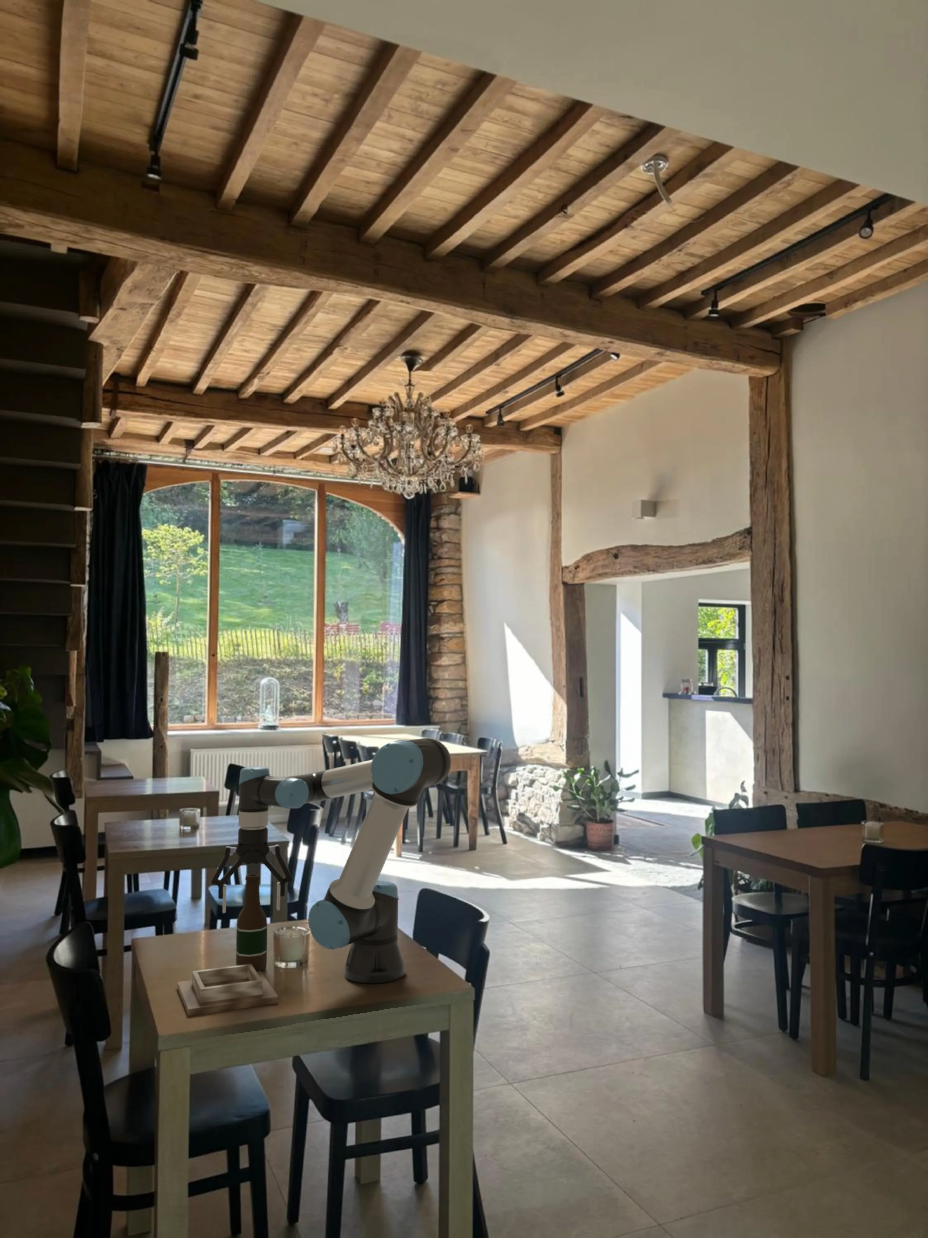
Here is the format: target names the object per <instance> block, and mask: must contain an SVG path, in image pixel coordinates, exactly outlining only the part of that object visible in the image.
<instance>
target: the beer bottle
mask: <svg viewBox="0 0 928 1238" xmlns="http://www.w3.org/2000/svg"><path fill="white" fill-rule="evenodd" d="M260 877H261V876H260V875H259V874H256V873H249V874H247V875H246V876H245V892H244V903H243V908H242V909H241V910H240V911H239V914H238V917H237V919H236V932H235V933H236V937H235V938H236V941H235V945H236V947H235V950H236V952H235V966H239V965H247V964H251V965H252V966H253V968H254V969H255V970H256V972H259V971H261V973H263V972H264V971H265V970H267V963H268V960H267V959H268V919H267V916H266V913H265V911H264V909H263V908H262V906H261V899H260V897H261V896H260V879H261V878H260Z"/></svg>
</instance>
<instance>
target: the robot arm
mask: <svg viewBox="0 0 928 1238" xmlns="http://www.w3.org/2000/svg"><path fill="white" fill-rule="evenodd" d="M451 758H452V757H451V753H450V752H449V750H448V748H447V747H446V745H444V744H443V743H442V742H441V741H439V740H438V739H436V738H430V737H424V738H422V737H421V738H416V739H415V738H414V739H397V740H393V741H391V742H388V743H386V744H384V745H383V746H381V747H380V748H379V749H378V750H377V751H376V752H375V754H374V756H373V758H372V759H370V760H366V761H361V762H360V761H359V762H358V763H357V762H356V763H353V764H349V765H347V764H346V765H344V766H341V767H340V766H339V767H334V768H331V769H326V770H321V771H318V772H311V773H307V774H299V775H298V774H297V775H290V776H273V775H271V774H270V769H269V768H268V767H267V766H246V767H243V768H241V769H240V772H239V780H238V782H239V783H238V790H239V791H238V793H239V794H238V797H239V798H238V824H237V825H238V827H239V829H238V830H237V831H238V833H237V834H238V835H237V847H234V846H233V847H232V846H230V845H227V846H226V847H225V849H224V850H225V851H224V855H223V857H222V859H221V861H220V863H219V865H218V867H217V869H216V871H215V873H214V874H213V877H212V879H211V884H212V885H215V886H217V887H218V888H217V889H218V892H217V893H218V894H217V896H218V899H219V900H222V914H225V913H227V884H226V882H227V881H228V880H230V878H231V877H232V876H233V874H234V873H235V872H236V871H237V870H238V869H239V868H240V867H241V866H242V864H246V865H252V864H253V865H259V864H260V863H262V864H263V865H264V866H265V867H266V868H267V869H268V871H269V872H270V873H271V874H272V875H273V876H274V877H275V878H276V880H277V882H276V883H277V884H276V911H281V897H284V896H285V893H286V892H285V890H286V889H285V888H286V883H288V882H291V881H292V880H293V877H292V874H291V872H290V870H289V868H288V865H287V864H286V862H285V860H284V858H283V856H282V853H281V849H280V844H278V843H277V844H275V845H272V846H271V845H270V846H269V828H268V827H267V826H268V825H269V807H274V808H275V807H277V808H285V809H288V810H290V809H300V808H302V807H303V805H305V804H310V803H316V802H324V801H328V800H331V799H335V798H338V797H339V798H340V797H344V796H349V795H354V794H358V793H364V792H368V791H369V792H370V791H372V792H373V793H374V795H373V798H372V799H371V802H370V805H369V806H368V809H367V812H366V815H365V817H364V818H363V821H362V824H361V827H360V828H359V831H358V833H357V836H356V838H355V841H354V843H353V845H352V848H351V851H350V853H349V855H348V857H347V859H346V862H345V865H344V867H343V869H342V871H341V874H340V876H339V878H337V879H335V880H333V881H331V882H330V884H329V886H328V889H327V891H326V893H325V895H324V898H323V899H321V900H318V901H316V902H315V903H314V904H313V905H312V906H311V907H310V909H309V912H308V919H307V921H308V923H307V924H308V927H309V930H310V934H311V936H312V938H313V939H314V941H315V942H316V943H317V944H318V945H320V946H321V947H323V948H324V949H327V950H337V949H342V948H345V947H346V946H349V945H350V949H349V952H348V954H347V957H346V959H345V960H346V961H345V964H344V977H345V978H346V979H347V980H349V981H352V982H356V983H362V984H382V983H383V984H384V983H389V982H393V981H396V980H398V979H401V978H402V977H404V975H405V971H406V970H405V969H406V968H405V965H406V964H405V962H404V960H403V957H402V952H401V949H400V946H399V941H398V939H399V938H398V935H399V934H398V933H399V931H398V930H399V900H400V898H399V894H398V893H399V892H398V891H399V890H398V886H397V885H396V884H395V883H393V882H391V881H385V880H378V879H379V878H380V876H381V873H382V871H383V868H384V866H385V864H386V861H387V859H388V857H389V854H390V852H391V849H392V847H393V844H394V843H395V840H396V838H397V835H398V833H399V831H400V829H401V826H402V824H403V821H404V819H405V818H406V817H405V816H406V815H407V812H408V811H409V810H408V809H410V808H413V807H416V806H417V805H418V804H419V803H418V802H419V801H420V799H421V796H422V793H423V791H424V789H425V788H428V787H433V786H436V785H438V784H440V783H442V782H443V781H444V780H445V779H446V778H447V777H448V775H449V773H450V771H451V767H452V759H451ZM269 852H271V853H272V855H275V858H276V860H277V861H278V864H279V865H280V868H281V869H282V872H283V874H284V876H283V875H282V874H281V873H280V872H279V870H277V868H276V867H275V866H274V865H273V863H272V862H271V861H270V860H269V858H268V857H267V855H268V854H269ZM234 853H236V854H237V856H238V859H237V860H236V861H235V862H234V864H232V866H231V867H230V868H229V869H228V870H227V871H226V872H225V874H224V875H222V878H220V876H221V873H222V872H223V870H224V868H225V867H226V865H227V863H228V861H229V858H230V857H232V856H234ZM219 878H220V879H219Z"/></svg>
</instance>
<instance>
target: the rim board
mask: <svg viewBox="0 0 928 1238" xmlns="http://www.w3.org/2000/svg"><path fill="white" fill-rule="evenodd" d="M191 972H192V973H191V979H190V980H182V981H177V991H178V993H179V996H180V999H181V1001H182V1004H183V1006H184V1008H185V1011H186V1014H187V1016H188V1017H192V1016H193V1017H194V1016H198V1015H206V1014H212V1013H218V1012H219V1013H220V1012H228V1011H233V1010H240V1009H247V1008H255V1007H262V1006H268V1005H269V1006H270V1005H275V1004H279V995H278V993H276V991H275V990H274V989H273V986H271V984H270V982H269V981H268V980H267V978H266V977H265V975H264V974H263V972H261V971H259V972H256V970H255V969H254V968H253V966H252V965H251V964H247V965H239V966H236V965H231V966H225V967H215V968H209V969H200V970H193V971H191Z"/></svg>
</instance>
